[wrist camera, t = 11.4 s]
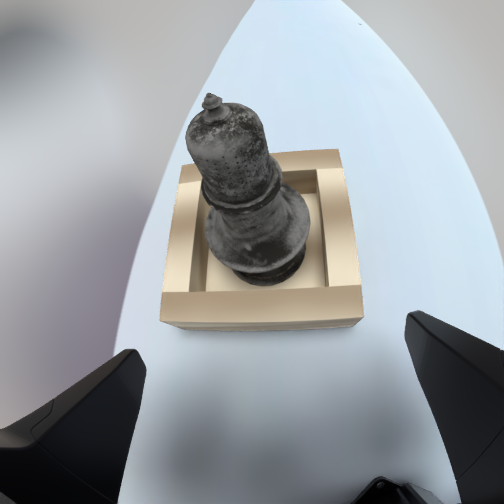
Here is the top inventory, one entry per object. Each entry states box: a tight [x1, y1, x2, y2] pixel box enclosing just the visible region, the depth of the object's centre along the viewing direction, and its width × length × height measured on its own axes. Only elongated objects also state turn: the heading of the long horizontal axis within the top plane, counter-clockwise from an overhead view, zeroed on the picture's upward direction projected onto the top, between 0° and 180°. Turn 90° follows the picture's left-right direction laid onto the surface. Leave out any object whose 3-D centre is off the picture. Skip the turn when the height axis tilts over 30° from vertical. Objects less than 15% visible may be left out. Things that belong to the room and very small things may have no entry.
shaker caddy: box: [159, 149, 364, 331], centre depth 18 cm, size 11×11×4 cm
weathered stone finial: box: [185, 93, 311, 286], centre depth 13 cm, size 6×6×12 cm
